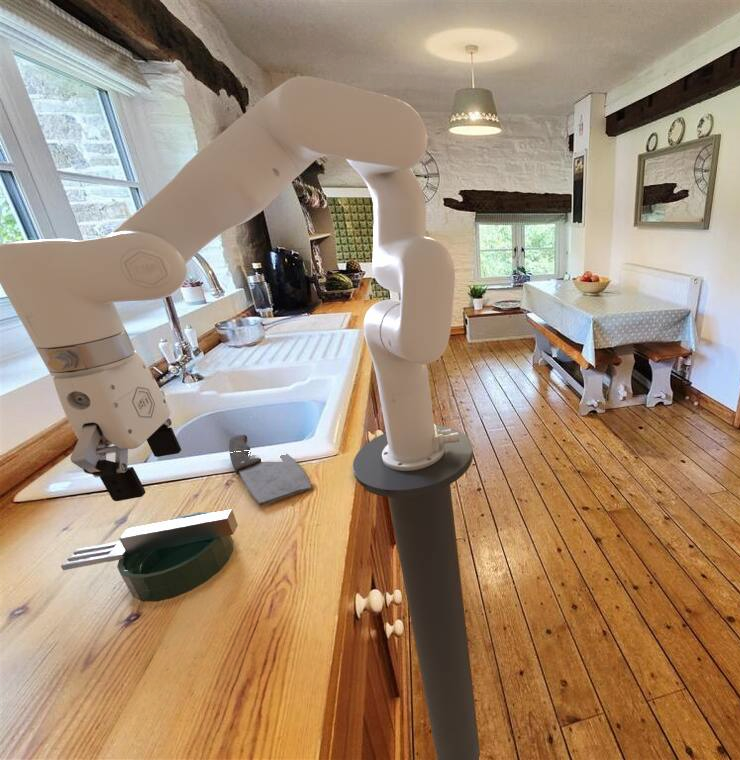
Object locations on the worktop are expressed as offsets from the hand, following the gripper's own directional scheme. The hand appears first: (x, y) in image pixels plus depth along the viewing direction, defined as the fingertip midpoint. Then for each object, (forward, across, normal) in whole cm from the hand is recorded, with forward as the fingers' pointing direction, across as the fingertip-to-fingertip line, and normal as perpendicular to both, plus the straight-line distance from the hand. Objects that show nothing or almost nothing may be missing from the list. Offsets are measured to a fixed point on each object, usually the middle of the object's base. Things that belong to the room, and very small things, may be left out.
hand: (151, 474), depth 54 cm
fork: (+11, -1, +4) cm, 12 cm away
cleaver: (+17, +24, -3) cm, 30 cm away
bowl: (+16, -1, +1) cm, 16 cm away
